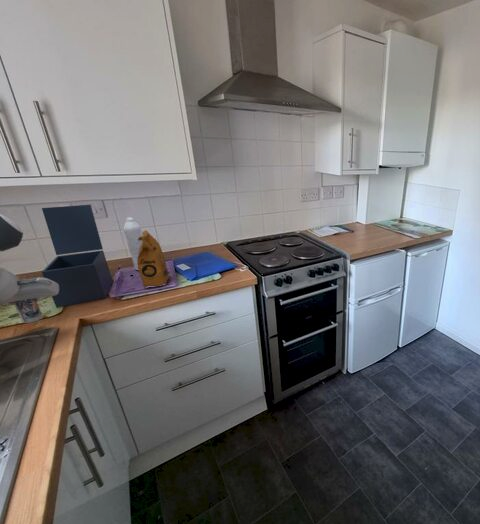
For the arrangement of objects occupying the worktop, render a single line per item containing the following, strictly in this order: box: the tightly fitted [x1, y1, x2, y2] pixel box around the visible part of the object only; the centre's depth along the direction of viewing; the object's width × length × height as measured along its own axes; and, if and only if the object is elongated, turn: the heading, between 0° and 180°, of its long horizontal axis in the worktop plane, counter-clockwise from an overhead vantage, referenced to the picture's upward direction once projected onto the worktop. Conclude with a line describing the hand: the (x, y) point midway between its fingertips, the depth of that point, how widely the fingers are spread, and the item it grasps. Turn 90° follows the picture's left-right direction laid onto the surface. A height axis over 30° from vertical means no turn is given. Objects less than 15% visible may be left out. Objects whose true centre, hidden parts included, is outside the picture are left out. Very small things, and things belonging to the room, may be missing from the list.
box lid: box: [41, 204, 104, 256], centre depth 121 cm, size 18×15×4 cm
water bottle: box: [123, 216, 143, 270], centre depth 138 cm, size 9×6×25 cm
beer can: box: [13, 299, 44, 324], centre depth 93 cm, size 5×5×12 cm
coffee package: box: [137, 229, 170, 288], centre depth 125 cm, size 10×12×22 cm
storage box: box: [41, 249, 114, 308], centre depth 117 cm, size 18×15×14 cm
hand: (26, 300), depth 93 cm, fingers closed on beer can, 5 cm apart
